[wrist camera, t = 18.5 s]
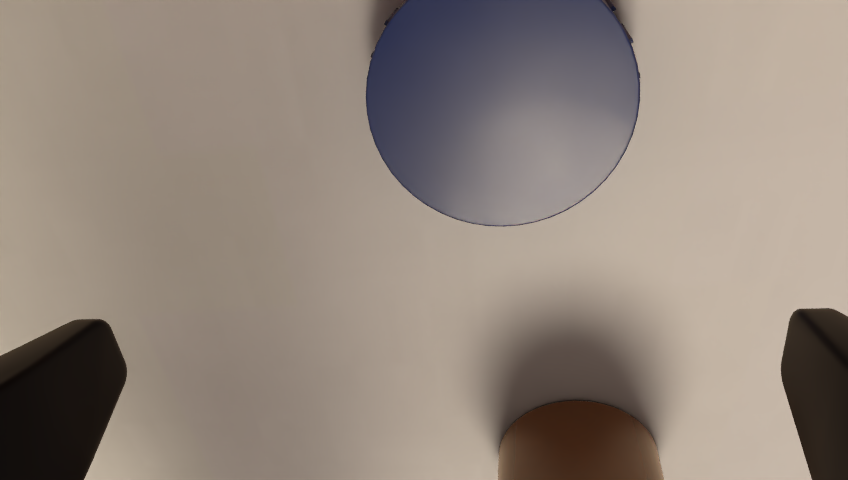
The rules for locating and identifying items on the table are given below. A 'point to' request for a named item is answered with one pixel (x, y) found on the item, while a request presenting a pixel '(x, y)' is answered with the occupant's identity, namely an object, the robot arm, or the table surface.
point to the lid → (502, 104)
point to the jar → (578, 445)
